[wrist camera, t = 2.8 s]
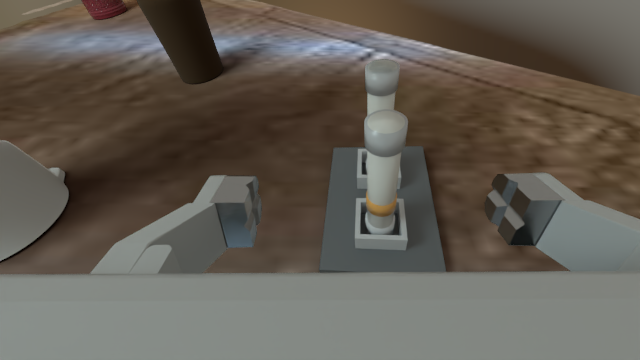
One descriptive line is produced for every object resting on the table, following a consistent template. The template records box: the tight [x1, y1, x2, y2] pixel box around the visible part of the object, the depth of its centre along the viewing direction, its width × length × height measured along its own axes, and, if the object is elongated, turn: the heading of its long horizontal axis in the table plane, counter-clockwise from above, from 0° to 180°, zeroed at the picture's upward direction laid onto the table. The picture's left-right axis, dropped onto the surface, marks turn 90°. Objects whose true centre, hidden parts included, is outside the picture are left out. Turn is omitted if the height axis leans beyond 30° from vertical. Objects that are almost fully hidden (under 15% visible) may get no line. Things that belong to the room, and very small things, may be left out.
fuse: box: [365, 59, 400, 175], centre depth 30 cm, size 3×3×14 cm
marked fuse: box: [364, 110, 408, 235], centre depth 25 cm, size 3×3×14 cm
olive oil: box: [137, 0, 223, 84], centre depth 54 cm, size 11×11×25 cm
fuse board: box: [319, 146, 446, 273], centre depth 32 cm, size 12×18×3 cm, turn 174°
